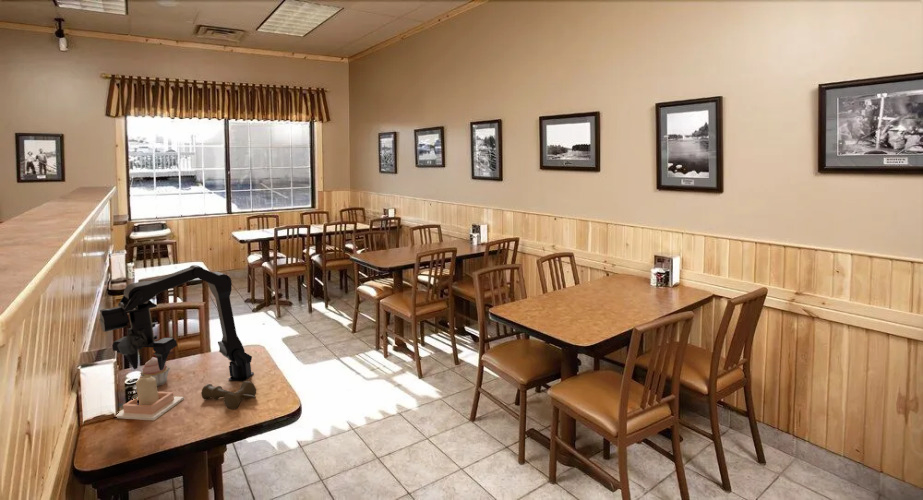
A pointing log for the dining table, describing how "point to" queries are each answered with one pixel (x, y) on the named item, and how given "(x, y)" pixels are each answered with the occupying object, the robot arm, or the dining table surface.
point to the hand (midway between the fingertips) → (148, 369)
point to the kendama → (229, 394)
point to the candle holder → (149, 407)
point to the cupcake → (155, 371)
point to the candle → (147, 390)
